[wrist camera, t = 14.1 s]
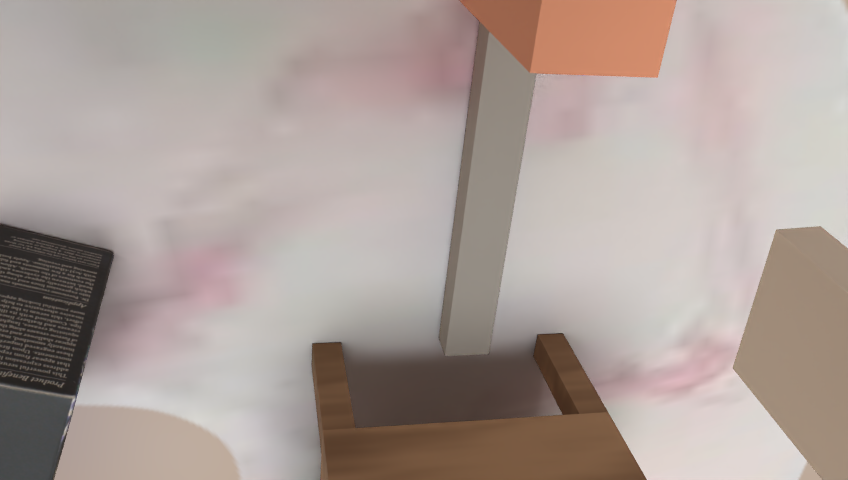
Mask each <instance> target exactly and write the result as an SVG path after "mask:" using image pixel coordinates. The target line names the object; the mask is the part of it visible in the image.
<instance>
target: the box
mask: <svg viewBox="0 0 848 480" xmlns="http://www.w3.org/2000/svg"><path fill="white" fill-rule="evenodd" d="M113 257H114V255H113V253H112V252H110V251H107V250H103V249H98V248H95V247H91V246H86V245H82V244H77V243H73V242H69V241H65V240H60V239H56V238H52V237H48V236H44V235H40V234H36V233H32V232H28V231H23V230H18V229H14V228H11V227H6V226H1V225H0V480H54V477H55V474H56V470H57V467H58V463H59V460H60V456H61V453H62V449H63V446H64V442H65V439H66V435H67V431H68V428H69V424H70V421H71V417H72V413H73V409H74V406H75V402H76V398H77V394H78V391H79V386H80V383H81V379H82V375H83V371H84V368H85V364H86V360H87V356H88V352H89V348H90V344H91V341H92V337H93V333H94V329H95V325H96V322H97V318H98V314H99V310H100V306H101V302H102V299H103V296H104V291H105V288H106V283H107V280H108V276H109V272H110V268H111V264H112V261H113Z"/></svg>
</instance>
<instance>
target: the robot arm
mask: <svg viewBox="0 0 848 480" xmlns="http://www.w3.org/2000/svg"><path fill="white" fill-rule="evenodd" d="M733 369H734V370H735V372H736V373H737V374H738V375H739V377H740V378H741V379H742V380H743V381H744V383H745V384H746V385H747V386H748V388H749V389H750V390H751V391H752V393H753V394H754V395H755V396H756V398H757V399H758V400H759V401H760V403H761V404H762V405H763V406H764V408H765V409H766V410H767V411H768V413H769V414H770V415H771V416H772V418H773V419H774V420H775V421H776V423H777V424H778V425H779V426H780V428H781V429H782V430H783V431H784V433H785V434H786V435H787V436H788V438H789V439H790V440H791V441H792V443H793V444H794V445H795V446H796V448H797V449H798V450H799V451H800V453H801V454H802V455H803V456H804V458H805V459H806V460H807V461H808V463H809V464H810V465H811V466H812V468H813V469H814V470H815V471H816V472H817V474H818V475H819V476H820V478H822V480H848V248H846V247H845V246H844V245H843V244H841V243H840V242H839V241H838V240H837V239H835V238H834V237H833V236H832V235H830V234H829V233H828V232H827V231H826V230H824V229H823V228H822V227H821V226H819V227H805V228H792V229H779V230H776V232H775V235H774V238H773V242H772V245H771V248H770V251H769V254H768V257H767V261H766V264H765V267H764V270H763V273H762V276H761V280H760V283H759V286H758V289H757V292H756V296H755V299H754V302H753V305H752V308H751V311H750V315H749V318H748V321H747V324H746V327H745V330H744V334H743V337H742V340H741V343H740V346H739V350H738V353H737V356H736V359H735V362H734V365H733Z"/></svg>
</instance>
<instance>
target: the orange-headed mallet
mask: <svg viewBox="0 0 848 480" xmlns="http://www.w3.org/2000/svg"><path fill="white" fill-rule="evenodd" d="M459 1H460V2H461V3H462V4H463V5H464V6H465V7H466V8H467V9H468V10H469V11H470V12H471V13H472V14H473V15H474V16H475V17H476V18H477V19H478V20H479V21H480V22H479V30H478V37H477V45H476V53H475V61H474V68H473V76H472V84H471V92H470V99H469V107H468V115H467V123H466V130H465V138H464V146H463V154H462V161H461V169H460V177H459V185H458V192H457V200H456V208H455V216H454V223H453V231H452V239H451V247H450V254H449V262H448V270H447V278H446V285H445V293H444V301H443V309H442V316H441V324H440V332H439V340H440V343H441V346H442V349H443V352H444V355H445V356H459V355H482V354H489V350H490V344H491V338H492V332H493V326H494V320H495V314H496V309H497V303H498V297H499V291H500V285H501V279H502V273H503V267H504V261H505V255H506V249H507V244H508V238H509V232H510V226H511V220H512V214H513V208H514V202H515V196H516V190H517V184H518V179H519V173H520V167H521V161H522V155H523V149H524V143H525V137H526V131H527V125H528V120H529V114H530V108H531V102H532V96H533V90H534V84H535V78H536V73H541V74H570V75H599V76H627V77H656V78H658V74H659V70H660V66H661V62H662V58H663V53H664V49H665V45H666V41H667V37H668V33H669V29H670V25H671V21H672V17H673V13H674V9H675V5H676V1H677V0H459Z"/></svg>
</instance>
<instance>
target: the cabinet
mask: <svg viewBox="0 0 848 480" xmlns="http://www.w3.org/2000/svg"><path fill="white" fill-rule="evenodd" d="M533 356H534V358H535V360H536V362H537V364H538V366H539V368H540V370H541V372H542V374H543V376H544V378H545V380H546V382H547V384H548V386H549V388H550V390H551V392H552V394H553V396H554V398H555V400H556V402H557V404H558V406H559V408H560V410H561V412H562V414H563V415H554V416H539V417H523V418H507V419H491V420H475V421H460V422H444V423H428V424H412V425H397V426H381V427H365V428H355V423H354V417H353V411H352V405H351V399H350V393H349V387H348V381H347V375H346V369H345V363H344V357H343V351H342V346H341V343H316V344H312V374H313V383H314V391H315V400H316V409H317V418H318V427H319V436H320V445H321V454H322V456H321V479H320V480H647V479H646V478H645V476H644V474H643V472H642V471H641V469H640V467H639V465H638V464H637V462H636V460H635V458H634V457H633V455H632V453H631V451H630V450H629V448H628V446H627V444H626V443H625V441H624V439H623V437H622V436H621V434H620V432H619V430H618V429H617V427H616V425H615V423H614V422H613V420H612V418H611V417H610V415H609V413H608V411H607V410H606V408H605V406H604V404H603V403H602V401H601V399H600V397H599V396H598V394H597V392H596V390H595V389H594V387H593V385H592V383H591V382H590V380H589V378H588V376H587V375H586V373H585V371H584V369H583V368H582V366H581V364H580V362H579V361H578V359H577V357H576V356H575V354H574V352H573V350H572V349H571V347H570V345H569V343H568V342H567V340H566V338H565V336H564V335H563V334H541V335H538V336H537V341H536V346H535V351H534V355H533Z"/></svg>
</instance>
